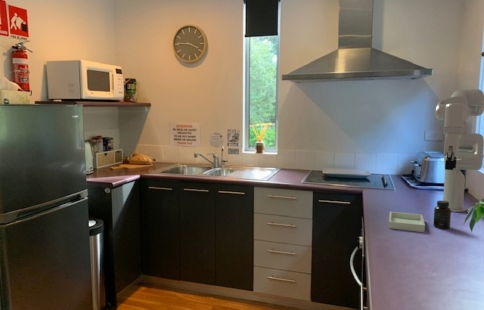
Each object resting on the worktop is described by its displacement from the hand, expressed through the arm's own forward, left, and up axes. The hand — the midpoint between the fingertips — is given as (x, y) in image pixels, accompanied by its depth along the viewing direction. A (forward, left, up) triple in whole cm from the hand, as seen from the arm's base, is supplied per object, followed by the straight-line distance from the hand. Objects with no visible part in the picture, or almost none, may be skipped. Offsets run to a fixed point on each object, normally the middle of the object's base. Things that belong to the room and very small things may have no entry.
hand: (450, 168), depth 165 cm
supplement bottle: (+3, -2, -27) cm, 27 cm away
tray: (+5, -17, -27) cm, 32 cm away
